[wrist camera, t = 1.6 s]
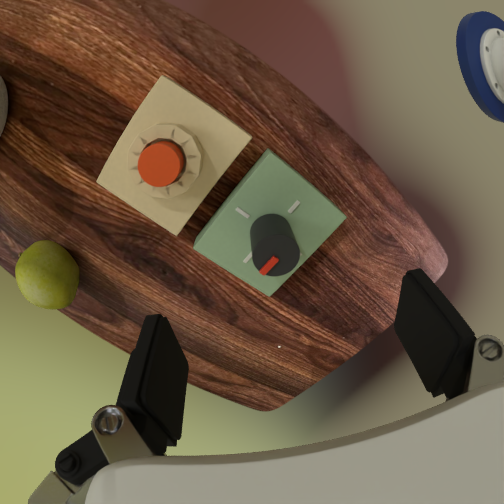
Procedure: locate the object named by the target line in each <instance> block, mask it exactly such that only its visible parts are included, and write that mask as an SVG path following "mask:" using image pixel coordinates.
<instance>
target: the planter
mask: <svg viewBox="0 0 504 504" xmlns="http://www.w3.org/2000/svg"><path fill="white" fill-rule="evenodd" d="M7 113H8V93H7V88H6V85H5V83H4V81H3V79H2V77H1V76H0V136H1V134H2V132H3V129H4V126H5V123H6V118H7Z"/></svg>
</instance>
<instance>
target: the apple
mask: <svg viewBox="0 0 504 504" xmlns="http://www.w3.org/2000/svg"><path fill="white" fill-rule="evenodd" d="M18 256H19V257H20V258H19V260H18V262H17V264H16V269H15V273H16V280H17V284H18V286H19V289H20V291H21V293H22V294H23V295H24V297H25V298H26V299H27V300H28V301H29V302H31V303H32V304H34V305H36V306H38V307H41V308H45V309H61V308H65V307H67V306H69V305H70V304H71V303H72V301H73V300H74V298H75V295H76V291H77V288H78V284H79V273H80V272H79V267H78V265H77V263H76V262H75V260H74V259H73V258H72V256H71V255H70V254H69V253H68V252H67V251H66V250H65V249H64V248H63V247H62V246H60V245H59V244H57V243H55V242H53V241H49V240H42V241H37V242H35V243H33V244H32V245H31V246H30V247H29V248H28V249H26V250H25V251H24V252H23V254H22V253H21V252H20V253H19V254H18Z"/></svg>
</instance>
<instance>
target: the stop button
mask: <svg viewBox="0 0 504 504" xmlns="http://www.w3.org/2000/svg"><path fill="white" fill-rule="evenodd" d="M183 164H184V158H183V155H182V152H181V150H180V149H179V148H178V147H177V146H176V145H175V144H173V143H171V142H167V141H160V142H157V143H154V144H152V145H150V146H149V147H147V148H146V149H144V150H143V152H142V153H141V154H140V156H139V159H138V171H139V174H140V176H141V178H142V179H143V180H144V181H145V182H146V183H147V184H149V185H151V186H154V187H164V186H167V185H169V184H171V183H172V182H173V181H174V180H175V179H176V178H177V177H178V175H179V174H180V173H181V171H182V169H183Z"/></svg>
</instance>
